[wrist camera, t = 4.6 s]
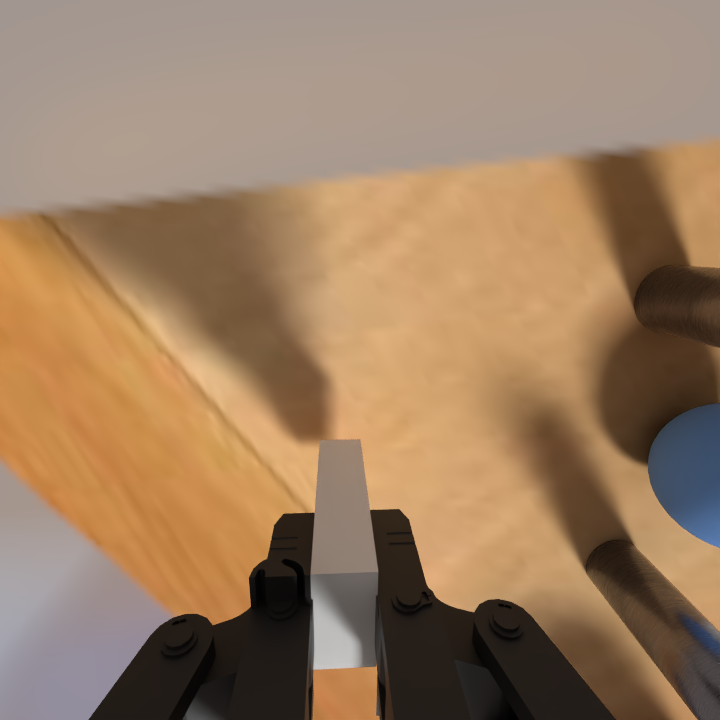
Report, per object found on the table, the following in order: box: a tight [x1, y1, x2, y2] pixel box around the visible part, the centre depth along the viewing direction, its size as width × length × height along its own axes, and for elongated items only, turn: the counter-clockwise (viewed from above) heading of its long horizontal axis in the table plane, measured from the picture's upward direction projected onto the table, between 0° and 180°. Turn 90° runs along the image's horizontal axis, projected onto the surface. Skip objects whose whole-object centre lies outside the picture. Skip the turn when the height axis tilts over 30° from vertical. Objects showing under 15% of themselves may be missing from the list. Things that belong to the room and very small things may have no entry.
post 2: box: [586, 540, 720, 720], centre depth 16 cm, size 3×3×9 cm
